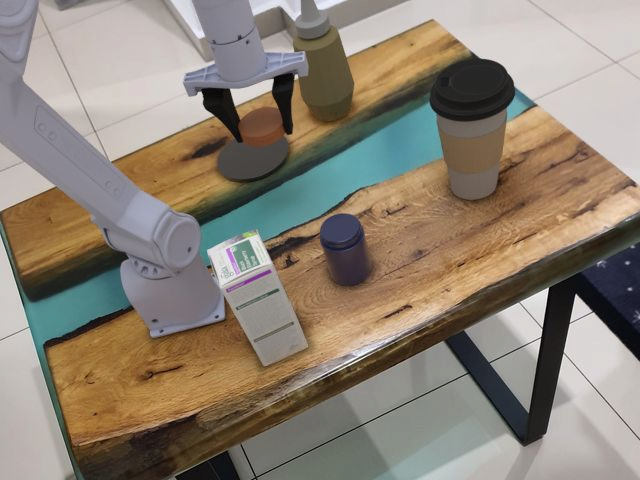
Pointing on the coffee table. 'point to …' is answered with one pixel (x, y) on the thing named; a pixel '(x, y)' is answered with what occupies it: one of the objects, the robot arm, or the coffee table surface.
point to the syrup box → (257, 297)
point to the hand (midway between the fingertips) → (265, 133)
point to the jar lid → (261, 127)
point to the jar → (345, 249)
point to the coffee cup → (472, 123)
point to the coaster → (251, 160)
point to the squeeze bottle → (323, 65)
